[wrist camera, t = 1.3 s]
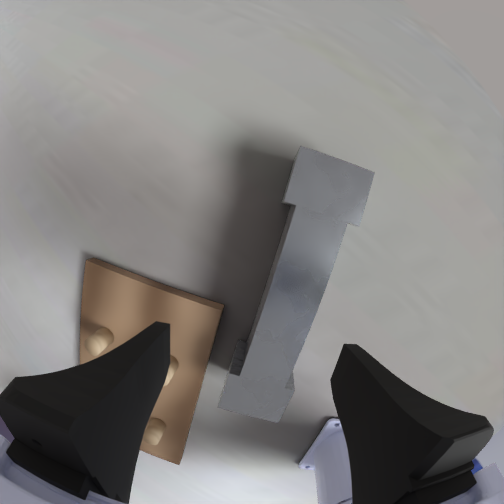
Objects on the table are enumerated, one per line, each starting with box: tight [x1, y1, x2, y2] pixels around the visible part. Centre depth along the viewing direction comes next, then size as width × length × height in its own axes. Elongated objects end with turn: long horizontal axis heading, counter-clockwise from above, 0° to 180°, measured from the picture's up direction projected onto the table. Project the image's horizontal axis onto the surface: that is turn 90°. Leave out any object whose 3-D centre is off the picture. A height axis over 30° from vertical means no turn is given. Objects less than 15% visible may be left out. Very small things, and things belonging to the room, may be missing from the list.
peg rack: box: [80, 258, 224, 465], centre depth 22 cm, size 12×20×4 cm, turn 164°
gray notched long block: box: [218, 146, 374, 423], centre depth 19 cm, size 17×4×5 cm, turn 164°
